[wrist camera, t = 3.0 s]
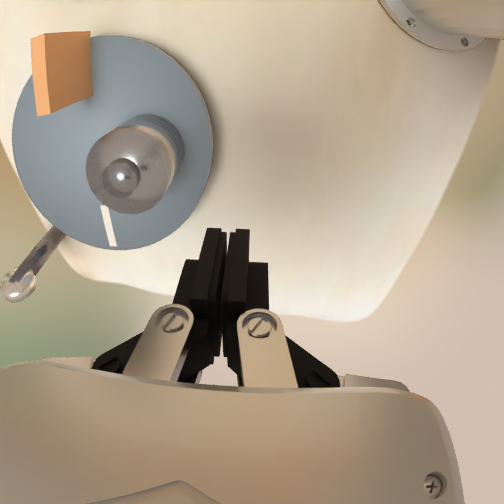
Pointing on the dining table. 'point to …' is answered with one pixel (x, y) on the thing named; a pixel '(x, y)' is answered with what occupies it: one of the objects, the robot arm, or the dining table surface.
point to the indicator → (30, 268)
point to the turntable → (104, 132)
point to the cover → (135, 163)
